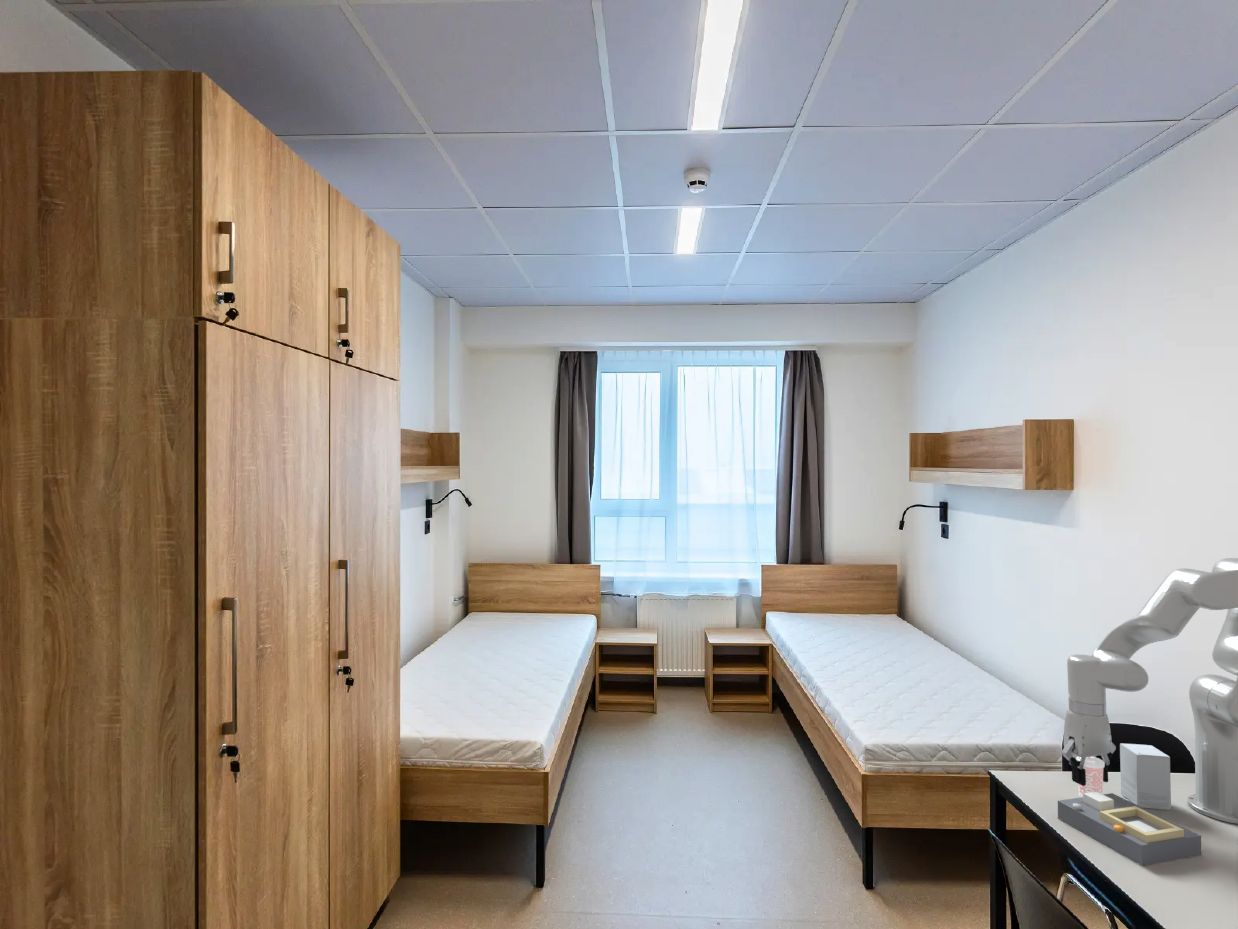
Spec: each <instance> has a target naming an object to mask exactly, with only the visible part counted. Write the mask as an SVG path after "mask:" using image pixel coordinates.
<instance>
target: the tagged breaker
mask: <svg viewBox="0 0 1238 929" xmlns="http://www.w3.org/2000/svg"><path fill="white" fill-rule="evenodd" d="M1126 823H1128V824H1130V825H1132V826H1134V827H1136V828H1138V829H1140V830H1142V831H1144V832H1150V831H1157V830H1156V829H1154V828H1152V827H1150V826H1148V825H1146V824H1144V823H1142V822H1140V821H1132V822H1126Z"/></svg>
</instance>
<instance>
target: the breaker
mask: <svg viewBox="0 0 1238 929" xmlns="http://www.w3.org/2000/svg"><path fill="white" fill-rule="evenodd" d="M1103 794H1104V793H1103ZM1103 794H1101V793H1099V792H1090V793H1083V803H1084V804H1086V805H1088V806H1090V807H1092V808H1093V809H1095V810H1097V811H1099V812H1100V811H1105V810H1112V809H1114V800H1113V799H1111V798H1109V797H1107V796H1105V795H1103Z"/></svg>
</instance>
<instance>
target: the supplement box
mask: <svg viewBox="0 0 1238 929" xmlns="http://www.w3.org/2000/svg"><path fill="white" fill-rule="evenodd" d="M1119 759H1120V760H1119V761H1120V765H1119V766H1120V794H1121V795H1122V796H1124V797H1125V799H1126V800H1127V801H1130V802H1132V803H1134V804H1136V805H1138V806H1140V807H1142V808H1144V809H1153V810H1154V809H1155V810H1164V811H1165V810H1166V811H1171V810H1172V795H1171V794H1172V793H1171V792H1172V790H1171V757H1170V756H1169V755H1168V754H1166V753H1164V752H1163V751H1162V750H1160V749H1158V748H1156V747H1155V746H1153V745H1152V744H1151V745H1150V744H1149V745H1148V744H1138V743H1137V744H1136V743H1121V742H1120V743H1119Z"/></svg>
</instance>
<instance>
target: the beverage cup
mask: <svg viewBox="0 0 1238 929" xmlns="http://www.w3.org/2000/svg"><path fill="white" fill-rule="evenodd" d="M1079 758H1080V757H1078V756H1077V757H1076V760H1077V761H1079ZM1104 764H1105V762H1104V761H1103V760H1101V759H1099V758H1096V757H1094V756H1092V757H1086V759H1085V762H1084V766H1083V769H1085V771H1086V785H1085V786H1082V785H1080V784H1078V783H1077V786H1078V796H1079V798H1081V797H1083V793H1090V792H1099V793H1101V794H1104V791H1103V790H1104V788H1103V786H1104V785H1103V784H1104V781H1103V768H1104V766H1105V765H1104Z"/></svg>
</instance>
